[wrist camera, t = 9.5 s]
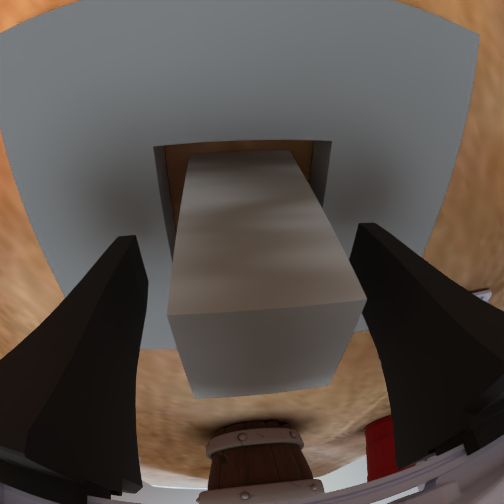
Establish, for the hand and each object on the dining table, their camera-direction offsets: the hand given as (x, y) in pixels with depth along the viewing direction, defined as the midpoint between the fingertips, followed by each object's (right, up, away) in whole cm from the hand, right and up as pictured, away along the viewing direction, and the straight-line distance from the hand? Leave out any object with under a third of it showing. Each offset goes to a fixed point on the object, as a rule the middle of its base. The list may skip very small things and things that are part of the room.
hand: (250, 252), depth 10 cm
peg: (0, +2, +3) cm, 4 cm away
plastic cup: (+21, -27, +32) cm, 47 cm away
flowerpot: (0, -23, +25) cm, 33 cm away
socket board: (0, +3, +3) cm, 4 cm away
